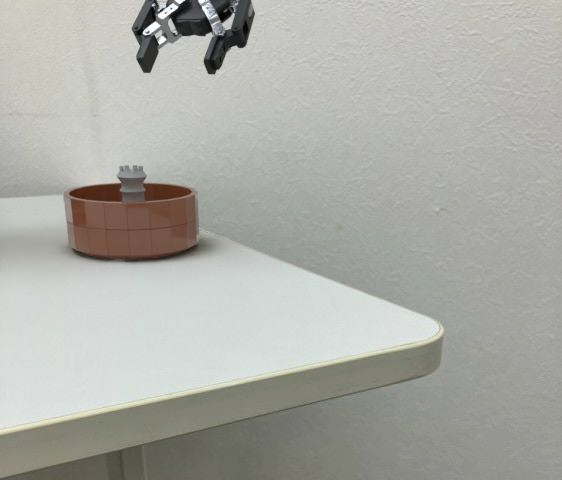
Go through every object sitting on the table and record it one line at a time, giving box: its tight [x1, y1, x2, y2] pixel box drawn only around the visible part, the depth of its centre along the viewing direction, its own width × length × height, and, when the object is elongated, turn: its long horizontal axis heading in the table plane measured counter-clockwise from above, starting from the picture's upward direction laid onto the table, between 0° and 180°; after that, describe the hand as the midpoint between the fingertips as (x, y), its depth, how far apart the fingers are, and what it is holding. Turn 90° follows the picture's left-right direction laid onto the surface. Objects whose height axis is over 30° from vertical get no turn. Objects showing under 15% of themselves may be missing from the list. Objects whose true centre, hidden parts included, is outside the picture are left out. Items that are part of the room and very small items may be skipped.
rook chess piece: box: [116, 164, 148, 202], centre depth 73 cm, size 4×4×8 cm
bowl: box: [63, 182, 200, 261], centre depth 73 cm, size 14×14×6 cm
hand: (175, 68), depth 77 cm, fingers open, 8 cm apart
